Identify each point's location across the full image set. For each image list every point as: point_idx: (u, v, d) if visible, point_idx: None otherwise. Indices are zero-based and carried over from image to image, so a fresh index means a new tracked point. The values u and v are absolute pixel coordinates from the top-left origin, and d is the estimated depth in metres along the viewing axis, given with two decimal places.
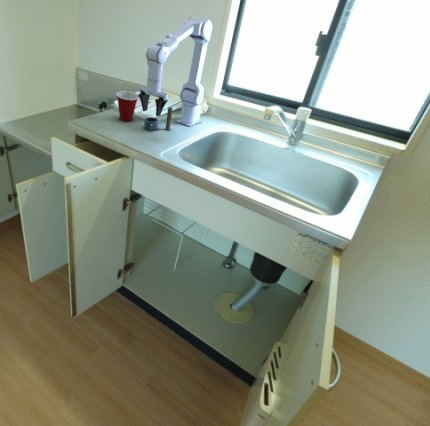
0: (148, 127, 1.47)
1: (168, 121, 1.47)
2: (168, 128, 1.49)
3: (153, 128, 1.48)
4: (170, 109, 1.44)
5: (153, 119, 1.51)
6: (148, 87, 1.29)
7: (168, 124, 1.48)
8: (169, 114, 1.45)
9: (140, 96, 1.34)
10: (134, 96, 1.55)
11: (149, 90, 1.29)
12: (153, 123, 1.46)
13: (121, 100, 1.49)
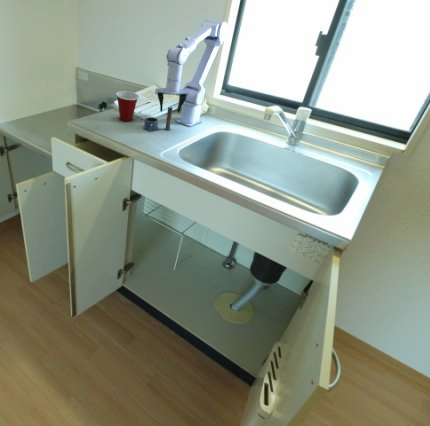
0: (148, 127, 1.47)
1: (168, 121, 1.47)
2: (168, 128, 1.49)
3: (153, 128, 1.48)
4: (170, 109, 1.44)
5: (153, 119, 1.51)
6: (172, 87, 1.37)
7: (168, 124, 1.48)
8: (169, 114, 1.45)
9: (161, 98, 1.39)
10: (134, 96, 1.55)
11: (174, 90, 1.37)
12: (153, 123, 1.46)
13: (121, 100, 1.49)
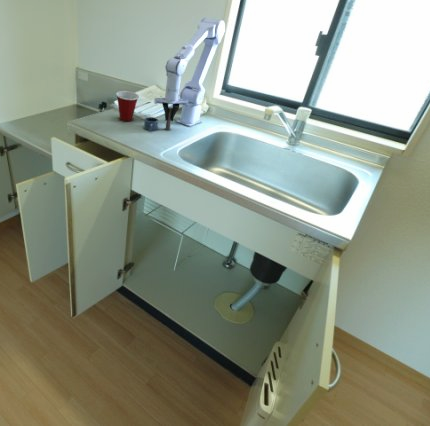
0: (148, 127, 1.47)
1: (168, 121, 1.47)
2: (169, 128, 1.49)
3: (153, 128, 1.48)
4: (170, 109, 1.44)
5: (153, 119, 1.51)
6: (171, 97, 1.39)
7: (168, 124, 1.48)
8: (169, 114, 1.45)
9: (166, 107, 1.42)
10: (134, 96, 1.55)
11: (172, 100, 1.40)
12: (153, 123, 1.46)
13: (121, 100, 1.49)
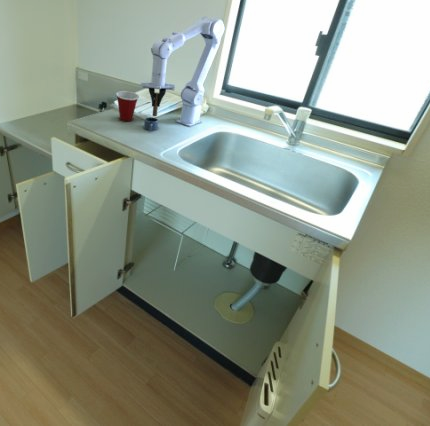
0: (148, 127, 1.47)
1: (155, 107, 1.44)
2: (155, 115, 1.46)
3: (153, 128, 1.48)
4: (157, 94, 1.41)
5: (153, 119, 1.51)
6: (157, 82, 1.36)
7: (155, 110, 1.45)
8: (156, 100, 1.42)
9: (152, 92, 1.39)
10: (134, 96, 1.55)
11: (159, 84, 1.36)
12: (153, 123, 1.46)
13: (121, 100, 1.49)
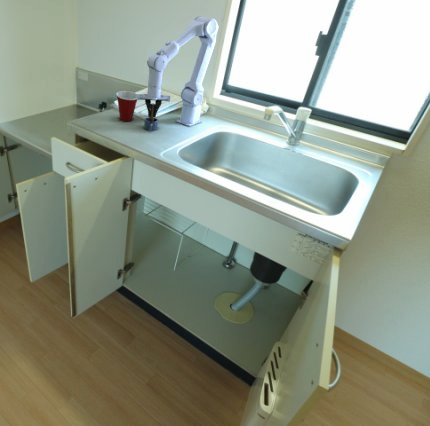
0: (148, 127, 1.47)
1: (151, 117, 1.47)
2: None
3: (153, 128, 1.48)
4: (153, 105, 1.44)
5: None
6: (153, 93, 1.39)
7: (151, 120, 1.48)
8: (152, 110, 1.45)
9: (148, 104, 1.42)
10: (134, 96, 1.55)
11: (154, 96, 1.39)
12: (153, 123, 1.46)
13: (121, 100, 1.49)
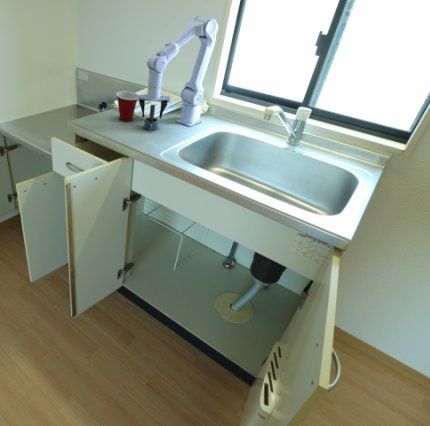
0: (148, 127, 1.47)
1: (151, 118, 1.47)
2: None
3: (153, 128, 1.48)
4: (152, 106, 1.44)
5: None
6: (153, 94, 1.39)
7: (151, 121, 1.48)
8: (152, 111, 1.45)
9: (142, 104, 1.42)
10: (134, 96, 1.55)
11: (154, 97, 1.40)
12: (153, 123, 1.46)
13: (121, 100, 1.49)
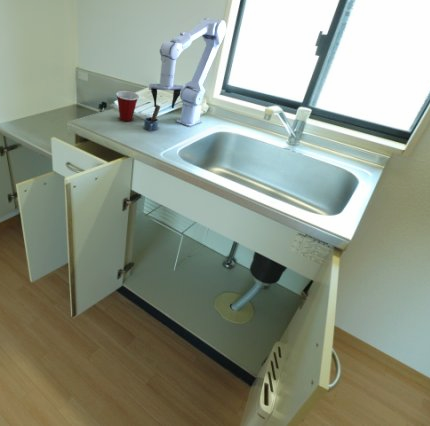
0: (148, 127, 1.47)
1: (153, 118, 1.47)
2: None
3: (153, 128, 1.48)
4: (158, 107, 1.44)
5: None
6: (166, 83, 1.35)
7: (152, 121, 1.48)
8: (156, 112, 1.45)
9: (155, 93, 1.38)
10: (134, 96, 1.55)
11: (167, 85, 1.35)
12: (153, 123, 1.46)
13: (121, 100, 1.49)
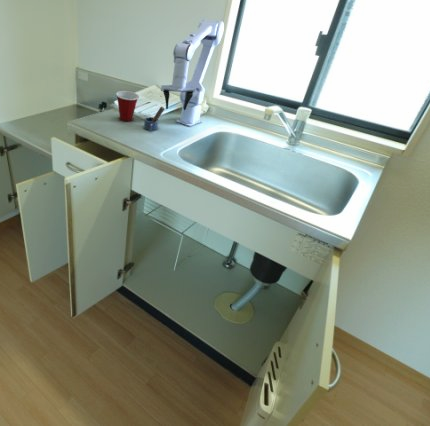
0: (148, 127, 1.47)
1: (155, 119, 1.47)
2: None
3: (153, 128, 1.48)
4: (162, 109, 1.44)
5: None
6: (179, 84, 1.34)
7: None
8: (159, 113, 1.45)
9: (167, 95, 1.36)
10: (134, 96, 1.55)
11: (180, 87, 1.34)
12: (153, 123, 1.46)
13: (121, 100, 1.49)
